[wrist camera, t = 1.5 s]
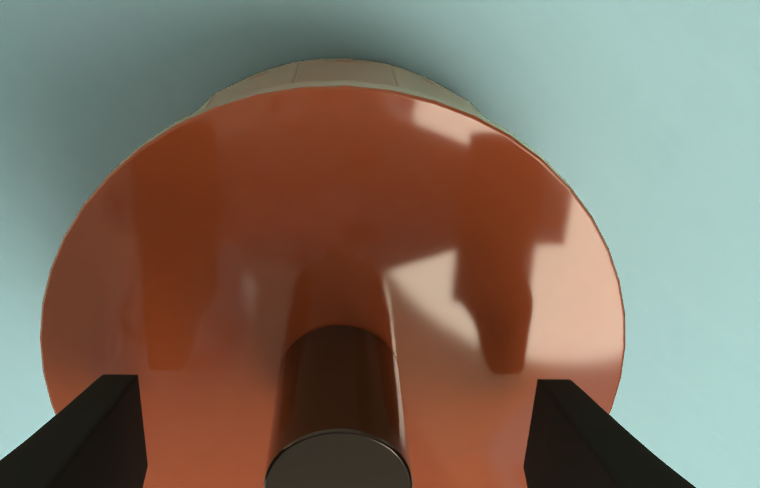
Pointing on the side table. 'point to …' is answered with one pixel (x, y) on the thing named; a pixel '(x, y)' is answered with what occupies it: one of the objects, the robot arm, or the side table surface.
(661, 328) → the side table surface
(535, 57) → the side table surface
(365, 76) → the cup
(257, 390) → the lid
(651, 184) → the side table surface
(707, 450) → the side table surface
